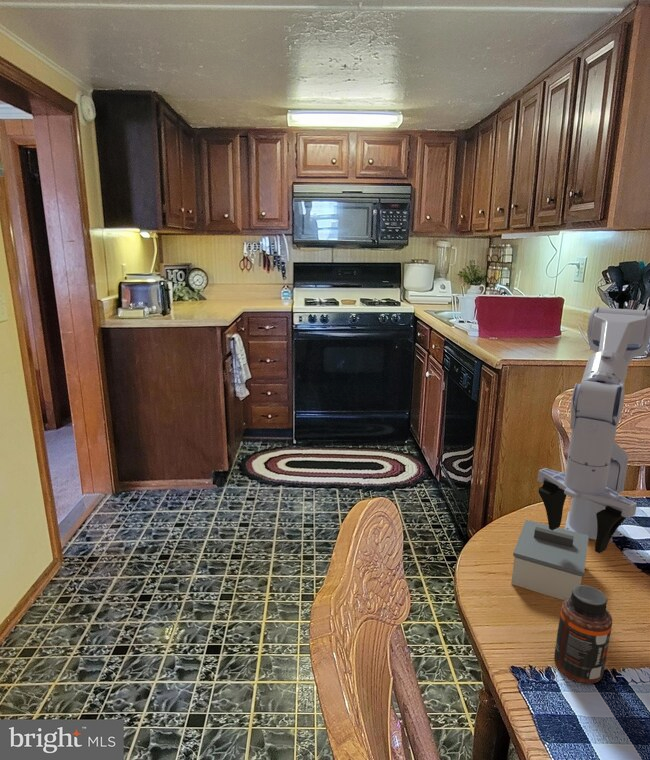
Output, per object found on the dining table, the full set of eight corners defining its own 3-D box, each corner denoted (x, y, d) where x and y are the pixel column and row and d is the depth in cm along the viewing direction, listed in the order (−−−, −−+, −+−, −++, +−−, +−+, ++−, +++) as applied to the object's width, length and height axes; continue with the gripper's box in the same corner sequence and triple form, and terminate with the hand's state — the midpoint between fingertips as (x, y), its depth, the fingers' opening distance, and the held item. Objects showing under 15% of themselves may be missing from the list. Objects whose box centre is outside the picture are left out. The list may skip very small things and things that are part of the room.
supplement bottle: (609, 690, 64) (623, 613, 61) (559, 682, 65) (570, 606, 63) (594, 655, 70) (607, 583, 67) (548, 647, 71) (559, 577, 68)
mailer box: (523, 548, 95) (526, 524, 94) (582, 565, 90) (586, 540, 89) (511, 583, 85) (514, 557, 83) (577, 604, 80) (581, 576, 79)
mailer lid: (525, 522, 94) (526, 512, 93) (588, 538, 89) (590, 527, 88) (513, 555, 83) (514, 544, 83) (583, 576, 78) (585, 564, 78)
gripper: (530, 449, 81) (521, 525, 84) (624, 483, 69) (609, 570, 73) (556, 440, 85) (546, 513, 88) (649, 471, 73) (633, 554, 76)
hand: (576, 538), depth 81 cm, fingers open, 7 cm apart
